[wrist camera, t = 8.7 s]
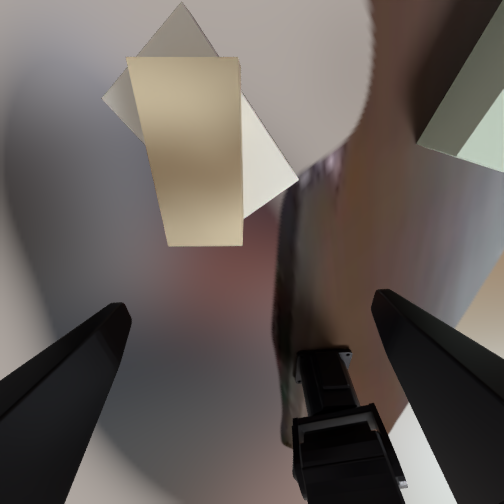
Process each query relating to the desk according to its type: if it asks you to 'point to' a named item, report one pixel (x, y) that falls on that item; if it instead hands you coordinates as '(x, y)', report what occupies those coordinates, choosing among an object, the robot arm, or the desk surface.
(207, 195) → the birch brick
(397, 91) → the desk surface
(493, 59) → the sage brick
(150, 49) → the white brick
